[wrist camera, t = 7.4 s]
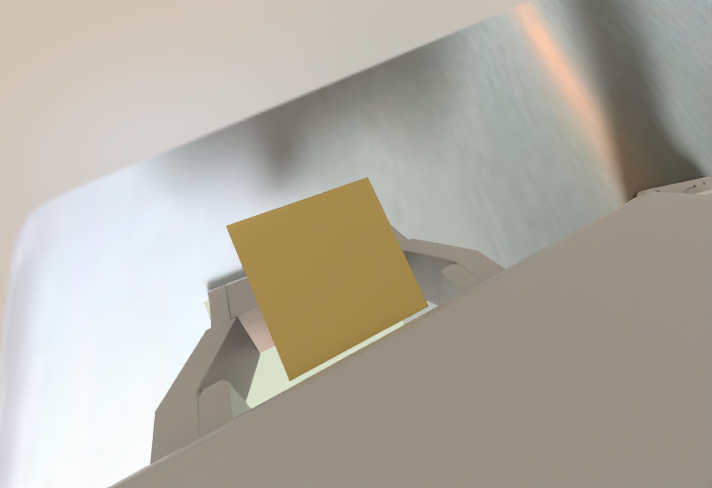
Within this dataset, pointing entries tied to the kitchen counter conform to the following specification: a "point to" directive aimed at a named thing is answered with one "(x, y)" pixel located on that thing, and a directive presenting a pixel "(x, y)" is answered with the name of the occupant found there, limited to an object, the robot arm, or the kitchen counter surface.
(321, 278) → the grey and yellow block
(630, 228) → the robot arm
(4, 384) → the kitchen counter surface
